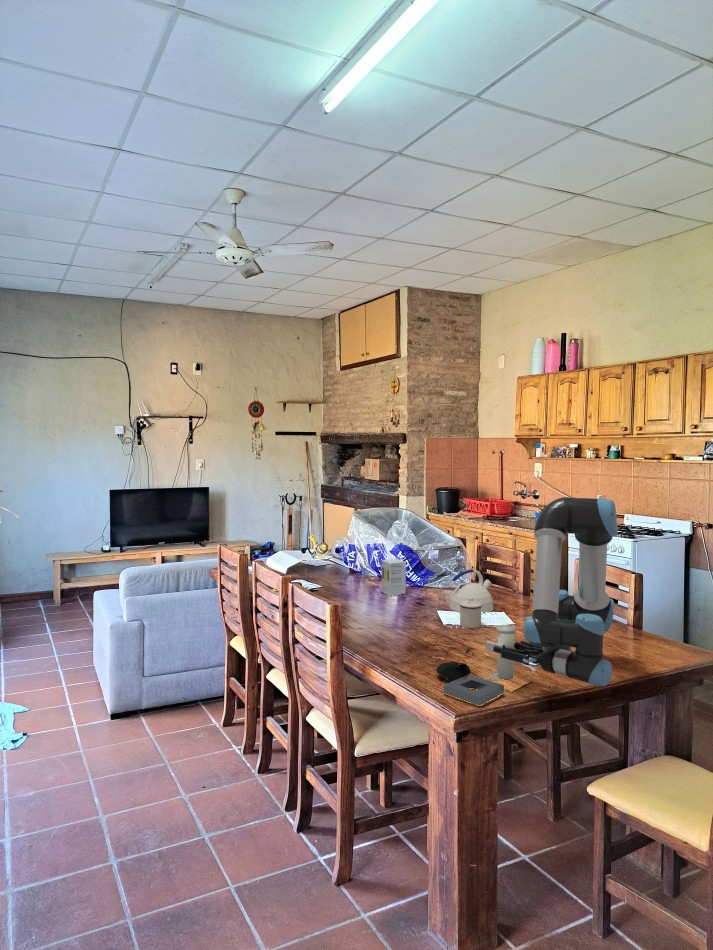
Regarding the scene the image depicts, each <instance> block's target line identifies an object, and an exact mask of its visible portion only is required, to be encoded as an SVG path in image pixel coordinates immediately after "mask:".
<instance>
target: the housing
mask: <svg viewBox="0 0 713 950" xmlns="http://www.w3.org/2000/svg"><path fill="white" fill-rule="evenodd" d="M469 688H474V689H478V691H475V690H472V689H469ZM443 693H446V694H449V695H452V696H454V697H457V698H460V699H462V700H465V701H468V702H471V703H474V704H477V705H481V704H483V703H485V702H487V701H489V700H491V699H493V698H495V697H497V696H498V695H500V694H502V693H504V694H505V690H504V685H501V684H498V683H495V682H492V681H488V680H485V679H484V678H481V677H478V676H476V675H472V674H470V675H469V674H468V675H466V676H464V677H461V678H459V679H457V680H454V681H452V682H447V683H446V684H443Z"/></svg>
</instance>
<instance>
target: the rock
mask: <svg viewBox="0 0 713 950" xmlns="http://www.w3.org/2000/svg"><path fill="white" fill-rule="evenodd" d="M470 668H471V667H470V666H469V665H468V664H466V663H463V662H459V661H452V660H451V661H449V662H446V661H445V662H443V663H441V664H440V665H438V666H437V668H436V674H438V675H440V676H441V677H443V678H444V679H446V681H447V680H448V681H449V682H448V681H447V682H448V683H450V682H452V681H454V680H457V679H459V678H461V677H464V676H466V675H468V674H469V675H471V673H472V671H471V669H470Z"/></svg>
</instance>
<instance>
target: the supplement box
mask: <svg viewBox="0 0 713 950" xmlns="http://www.w3.org/2000/svg"><path fill="white" fill-rule="evenodd" d="M406 566H407V562H406V561H403V560H401V559H398V558H391V559H390V558H389V559H381V584H380V585H381V587H380V589H381V590H380V591H381V592H383V593H385V594H387V595H389V596H391V597H393V596H392V595H400V596H402V595H401V594H405V595H406V587H407V585H406V584H407V583H406V582H407V581H406V580H407V579H406V577H407V576H406V571H407V567H406ZM383 593H382V594H383ZM385 594H384V595H385ZM387 595H386V596H387ZM389 596H388V597H389Z"/></svg>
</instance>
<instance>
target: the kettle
mask: <svg viewBox="0 0 713 950" xmlns="http://www.w3.org/2000/svg"><path fill="white" fill-rule="evenodd" d="M469 573H471V574H472V573H475V574H476V575H477V577H478V582H470V581H469V582H465V583H462V584H461V583H460V585H458V586H457V587H455V589H454V590H453V591H452V592H451V595H450V598H449V603H448V605H449V606H448V607H449V609H451V611H454V612H456V613H457V612H458V613H460V603H461V602H464V601H466V600H468V598H470V597H471V598H473V600H475V601H476V602H479V603H481V605H482V607H481V612H488V613H490V611H491V612H492V611H493V610H494V600H493V596H492V595H491V593H490V592H489V590H488V589H490V588H489V587H491V586H492V582H491V581H490V580H489V579H485V581H484V578H483V575H482V574H481V572H480V571H478V570H477V569H473V568H472V569H467V570H463V571H462V572H459V573H458V574H456V575H455V576H454V577H453V578H452V579H451V581H453V582H457V580H458V579H460V578H461V577H462V576H464V575H467V574H469Z"/></svg>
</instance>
